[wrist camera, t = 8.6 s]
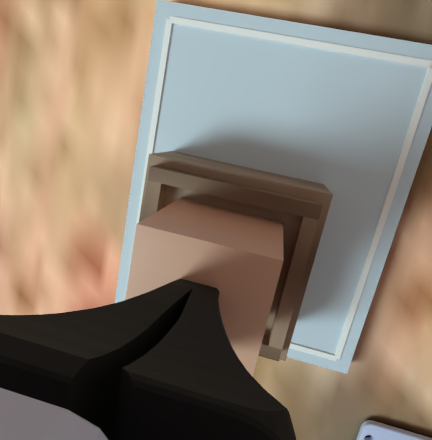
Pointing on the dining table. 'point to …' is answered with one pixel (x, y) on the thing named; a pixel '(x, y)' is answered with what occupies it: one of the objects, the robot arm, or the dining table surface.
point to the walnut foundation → (255, 205)
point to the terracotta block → (214, 264)
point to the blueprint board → (295, 140)
